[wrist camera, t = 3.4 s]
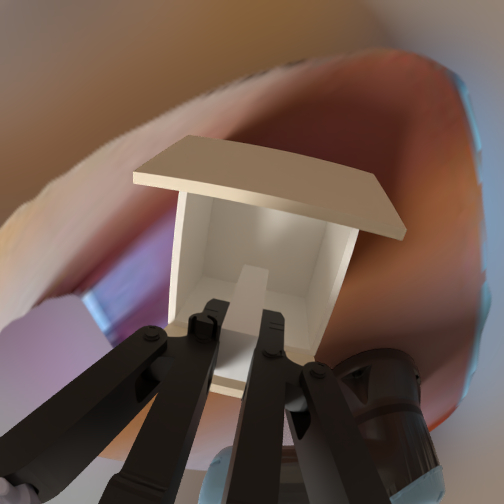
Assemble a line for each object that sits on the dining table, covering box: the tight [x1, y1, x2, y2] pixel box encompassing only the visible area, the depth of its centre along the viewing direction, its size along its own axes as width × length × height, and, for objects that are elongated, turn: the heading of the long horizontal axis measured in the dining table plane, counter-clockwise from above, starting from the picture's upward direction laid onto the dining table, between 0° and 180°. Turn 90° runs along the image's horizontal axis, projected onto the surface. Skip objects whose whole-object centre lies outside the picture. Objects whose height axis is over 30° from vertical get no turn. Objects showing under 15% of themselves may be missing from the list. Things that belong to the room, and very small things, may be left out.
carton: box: [168, 191, 359, 356], centre depth 26 cm, size 13×15×10 cm
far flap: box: [163, 324, 315, 398], centre depth 20 cm, size 13×8×1 cm
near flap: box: [133, 135, 407, 241], centre depth 15 cm, size 13×8×1 cm
